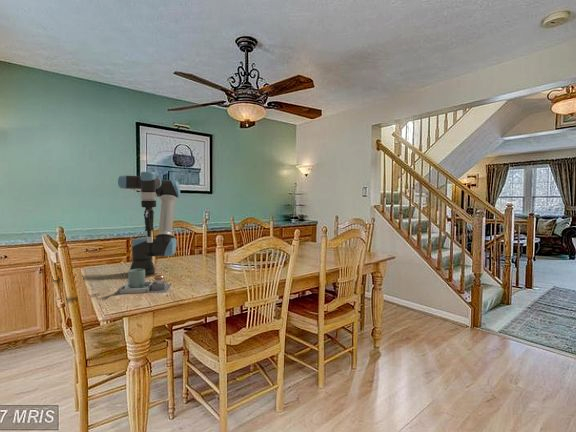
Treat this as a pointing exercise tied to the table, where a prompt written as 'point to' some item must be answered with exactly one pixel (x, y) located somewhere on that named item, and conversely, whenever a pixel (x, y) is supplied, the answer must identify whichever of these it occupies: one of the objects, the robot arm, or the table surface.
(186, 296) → the table surface
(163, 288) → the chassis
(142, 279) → the cup
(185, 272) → the table surface
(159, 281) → the plunger
